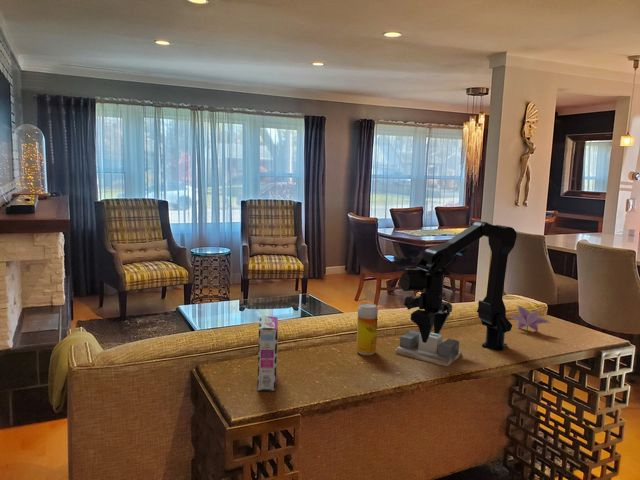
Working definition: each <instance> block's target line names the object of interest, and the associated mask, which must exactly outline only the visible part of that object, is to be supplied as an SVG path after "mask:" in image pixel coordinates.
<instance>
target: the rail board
mask: <svg viewBox="0 0 640 480" xmlns="http://www.w3.org/2000/svg"><path fill="white" fill-rule="evenodd" d="M419 334H420V331H414V330H410V331H408V332H406V333H404V334H403V335H401V336H400V338H399V346H398V347H396V350H395V354H396V355H400V356H403V357H408V358H413V359H416V360H419V361H422V362H428V363H432V364H435V363H436V364H435V365H439V366H444V367H448V366H450V365H451V364H452V363H454V362H455V361H456V360H457V359H458V358H460V357H461V356H462V351H460V340H458V339H451V338H447V339H446V340H444V341H443V343H441V344H440V345H438V354H433V353H429V352H424V351H420V350H418V344H419ZM459 356H460V357H459ZM454 360H455V361H454Z"/></svg>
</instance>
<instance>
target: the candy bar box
mask: <svg viewBox="0 0 640 480" xmlns="http://www.w3.org/2000/svg"><path fill="white" fill-rule="evenodd" d="M278 321H279V320H278V317H277V316H260V317H259V322H258V349H257V350H258V351H257V391H258V392H274V391H276V390H277V379H278V378H277V377H278V376H277V375H278V372H277V371H278V348H279V347H278V342H279V341H278V339H279V338H278V337H279V335H278V332H279V331H278V328H279V327H278V326H279V325H278Z"/></svg>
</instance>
